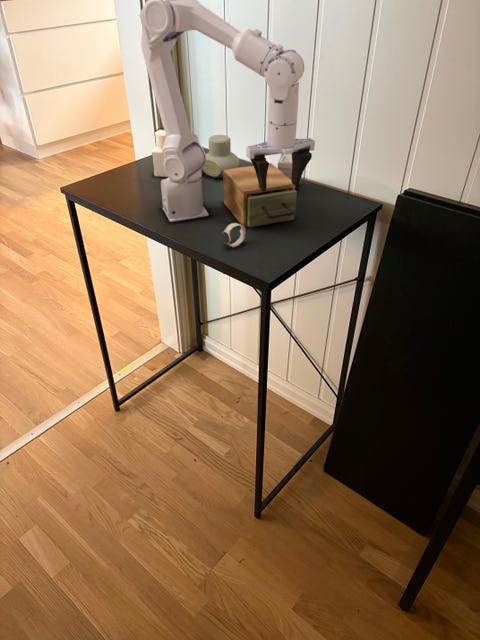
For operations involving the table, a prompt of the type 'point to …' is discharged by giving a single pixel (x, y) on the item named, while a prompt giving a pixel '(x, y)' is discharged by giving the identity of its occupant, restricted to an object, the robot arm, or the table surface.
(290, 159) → the medicine box
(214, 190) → the table surface
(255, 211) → the drawer
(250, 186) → the cabinet
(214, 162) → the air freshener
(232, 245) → the wristwatch
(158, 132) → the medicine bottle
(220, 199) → the table surface
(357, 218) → the table surface
